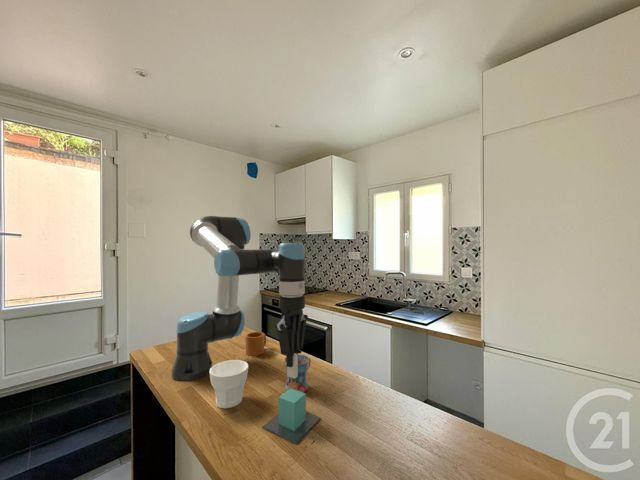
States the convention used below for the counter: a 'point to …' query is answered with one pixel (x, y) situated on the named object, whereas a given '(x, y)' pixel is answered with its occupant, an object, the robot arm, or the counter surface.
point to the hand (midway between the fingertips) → (292, 376)
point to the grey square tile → (287, 433)
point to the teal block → (292, 409)
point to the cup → (229, 382)
